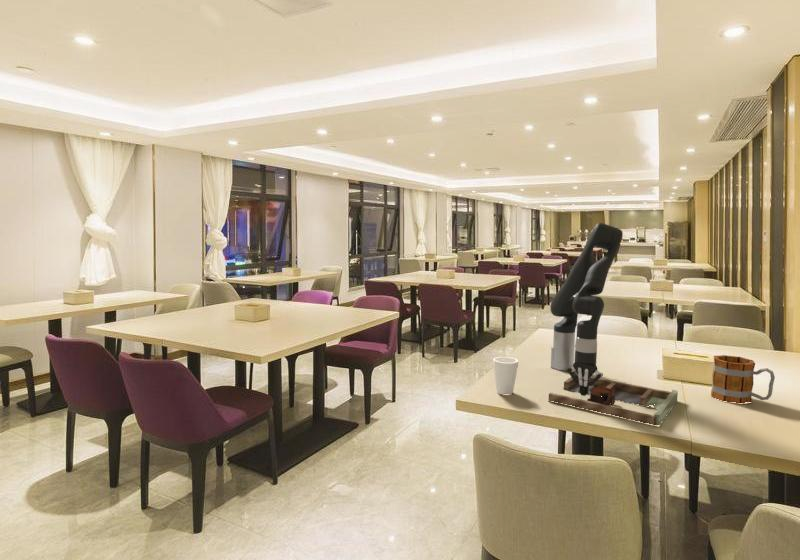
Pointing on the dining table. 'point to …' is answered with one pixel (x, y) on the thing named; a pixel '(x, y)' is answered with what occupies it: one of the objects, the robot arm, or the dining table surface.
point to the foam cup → (505, 374)
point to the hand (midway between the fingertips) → (583, 395)
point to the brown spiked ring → (606, 395)
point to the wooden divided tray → (626, 394)
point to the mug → (736, 379)
